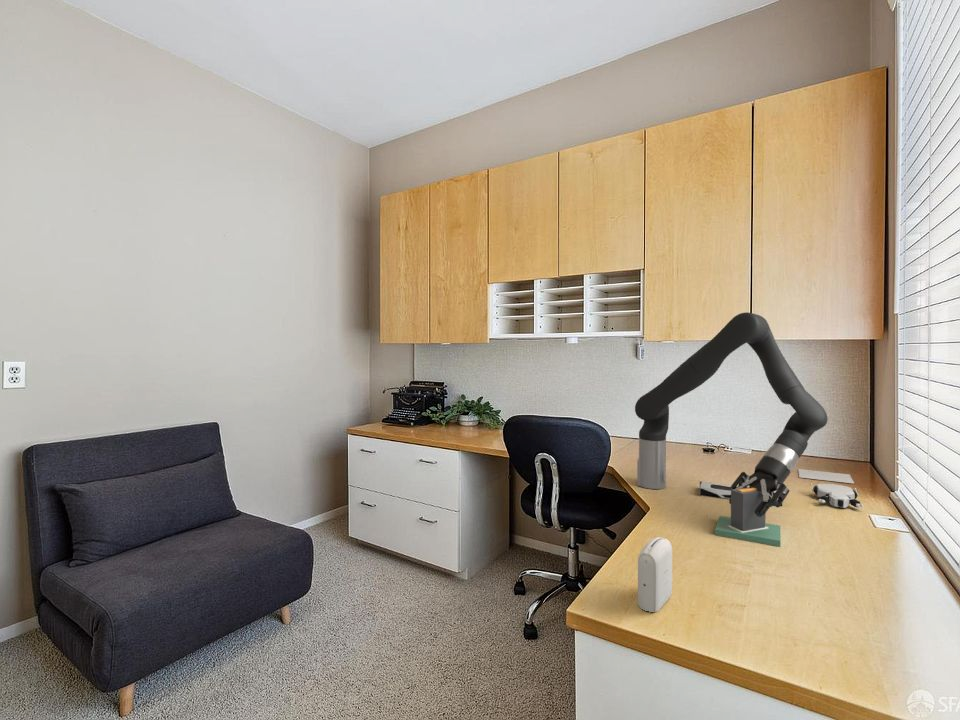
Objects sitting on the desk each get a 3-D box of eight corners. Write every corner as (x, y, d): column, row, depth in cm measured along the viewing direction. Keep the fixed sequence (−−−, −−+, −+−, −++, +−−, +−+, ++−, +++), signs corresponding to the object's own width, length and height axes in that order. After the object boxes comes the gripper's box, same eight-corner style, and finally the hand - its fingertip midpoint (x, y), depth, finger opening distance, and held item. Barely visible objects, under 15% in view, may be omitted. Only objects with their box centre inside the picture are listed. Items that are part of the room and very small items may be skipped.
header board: (715, 534, 131) (715, 516, 131) (719, 520, 141) (719, 503, 141) (780, 546, 123) (780, 527, 123) (780, 530, 133) (780, 512, 133)
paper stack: (858, 492, 168) (858, 490, 167) (773, 482, 181) (773, 480, 181) (849, 476, 187) (849, 474, 187) (774, 468, 200) (774, 466, 200)
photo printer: (656, 616, 92) (656, 552, 92) (634, 608, 95) (634, 546, 95) (674, 594, 100) (675, 535, 100) (654, 587, 103) (654, 530, 103)
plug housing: (742, 531, 129) (743, 492, 129) (730, 525, 133) (731, 488, 132) (765, 527, 131) (765, 489, 131) (752, 522, 135) (753, 485, 135)
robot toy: (865, 516, 146) (855, 498, 160) (866, 501, 146) (855, 485, 159) (816, 510, 152) (810, 493, 165) (817, 496, 152) (810, 480, 165)
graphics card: (699, 480, 173) (782, 490, 161) (699, 489, 173) (781, 500, 161) (696, 487, 164) (783, 498, 152) (696, 497, 164) (783, 509, 152)
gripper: (748, 450, 140) (716, 493, 137) (793, 461, 127) (759, 509, 124) (761, 466, 142) (730, 509, 139) (808, 479, 129) (774, 527, 126)
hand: (744, 509), depth 131 cm, fingers open, 8 cm apart
